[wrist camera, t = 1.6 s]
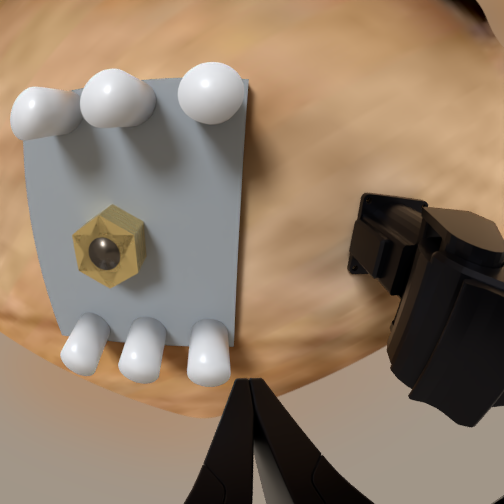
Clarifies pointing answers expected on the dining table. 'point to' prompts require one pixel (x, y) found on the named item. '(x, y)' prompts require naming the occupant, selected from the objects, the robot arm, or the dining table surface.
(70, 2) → the dining table surface
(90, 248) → the nut
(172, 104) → the board
